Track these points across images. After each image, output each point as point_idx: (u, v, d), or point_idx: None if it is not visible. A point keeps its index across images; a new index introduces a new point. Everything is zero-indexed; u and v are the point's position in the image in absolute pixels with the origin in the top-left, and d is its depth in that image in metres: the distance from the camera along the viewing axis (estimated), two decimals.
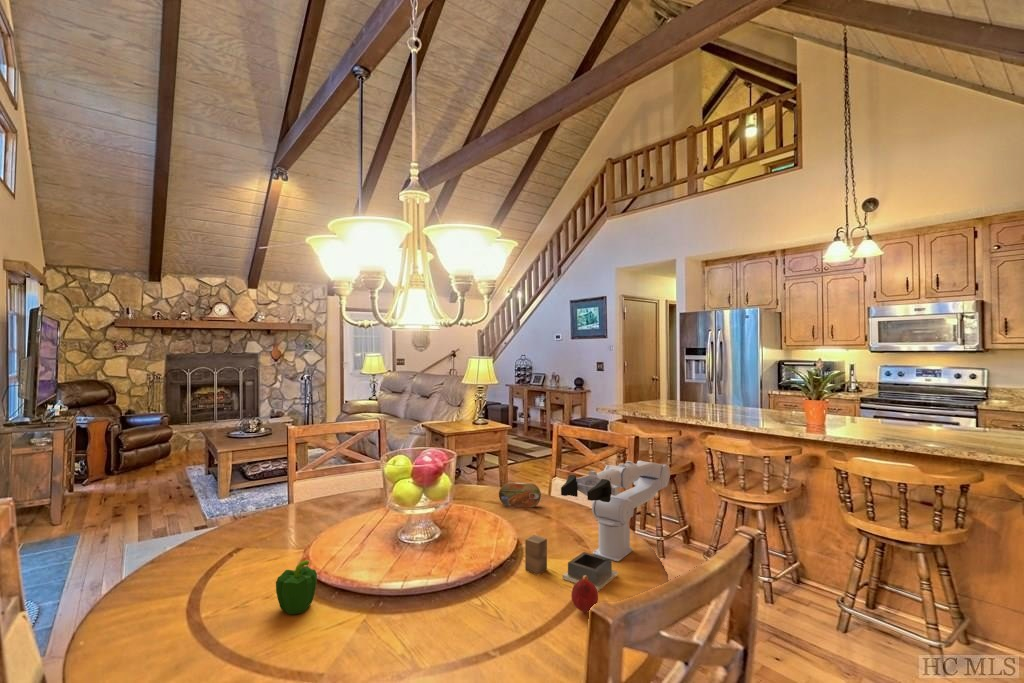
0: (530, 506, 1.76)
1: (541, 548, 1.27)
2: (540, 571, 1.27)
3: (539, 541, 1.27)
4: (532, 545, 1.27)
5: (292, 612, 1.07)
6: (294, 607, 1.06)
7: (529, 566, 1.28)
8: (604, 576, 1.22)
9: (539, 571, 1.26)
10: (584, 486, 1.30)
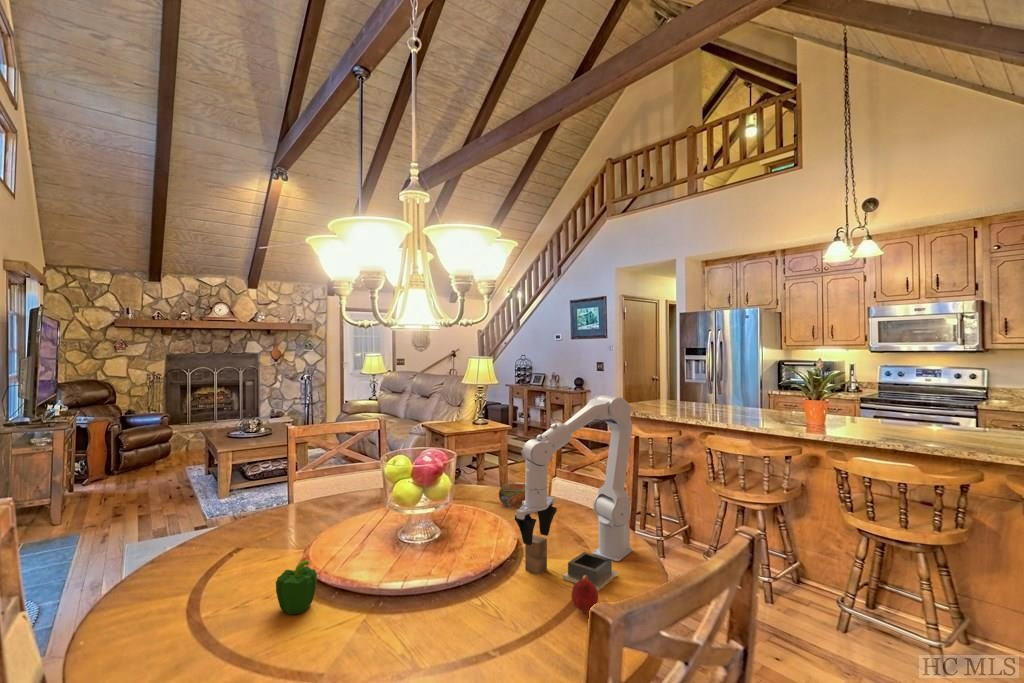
0: None
1: (541, 548, 1.27)
2: (540, 571, 1.27)
3: (539, 541, 1.27)
4: (532, 545, 1.27)
5: (292, 612, 1.07)
6: (294, 607, 1.06)
7: (529, 566, 1.28)
8: (604, 576, 1.22)
9: (539, 571, 1.26)
10: None
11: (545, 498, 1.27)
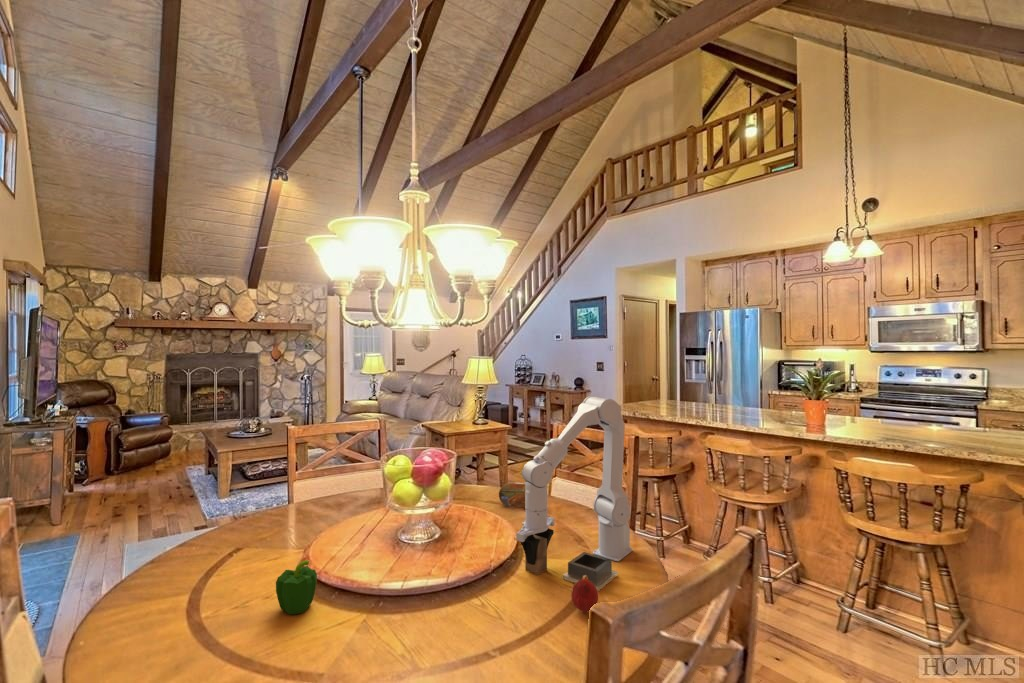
0: None
1: (541, 548, 1.27)
2: (540, 571, 1.27)
3: None
4: None
5: (292, 612, 1.07)
6: (294, 607, 1.06)
7: (529, 566, 1.28)
8: (604, 576, 1.22)
9: (539, 571, 1.26)
10: None
11: (545, 520, 1.27)
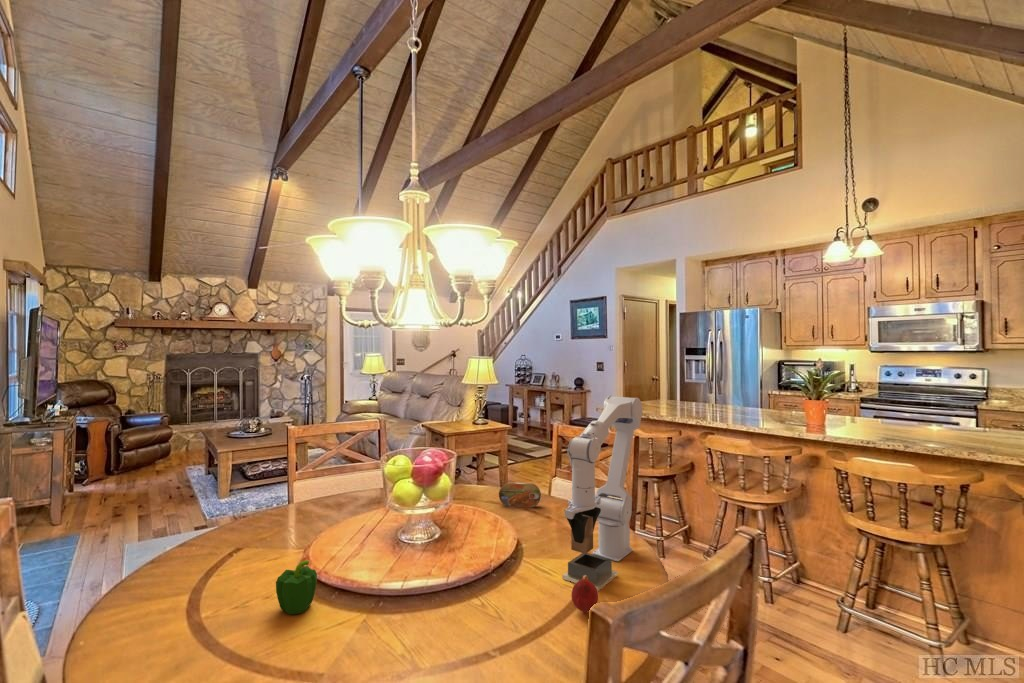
0: (530, 506, 1.76)
1: (588, 526, 1.24)
2: (587, 550, 1.23)
3: None
4: None
5: (292, 612, 1.07)
6: (294, 607, 1.06)
7: (575, 545, 1.24)
8: (604, 576, 1.22)
9: (586, 550, 1.23)
10: None
11: (593, 497, 1.23)
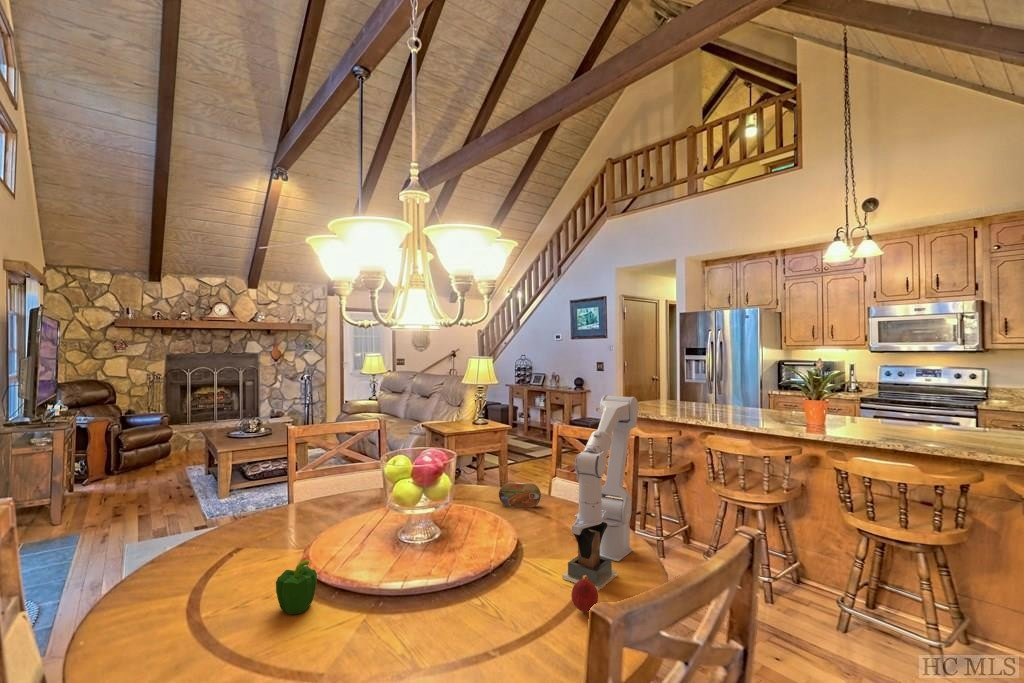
0: (530, 506, 1.76)
1: (595, 542, 1.23)
2: (594, 565, 1.23)
3: None
4: None
5: (292, 612, 1.07)
6: (294, 607, 1.06)
7: (582, 560, 1.24)
8: (604, 576, 1.22)
9: (593, 565, 1.22)
10: None
11: (600, 512, 1.23)
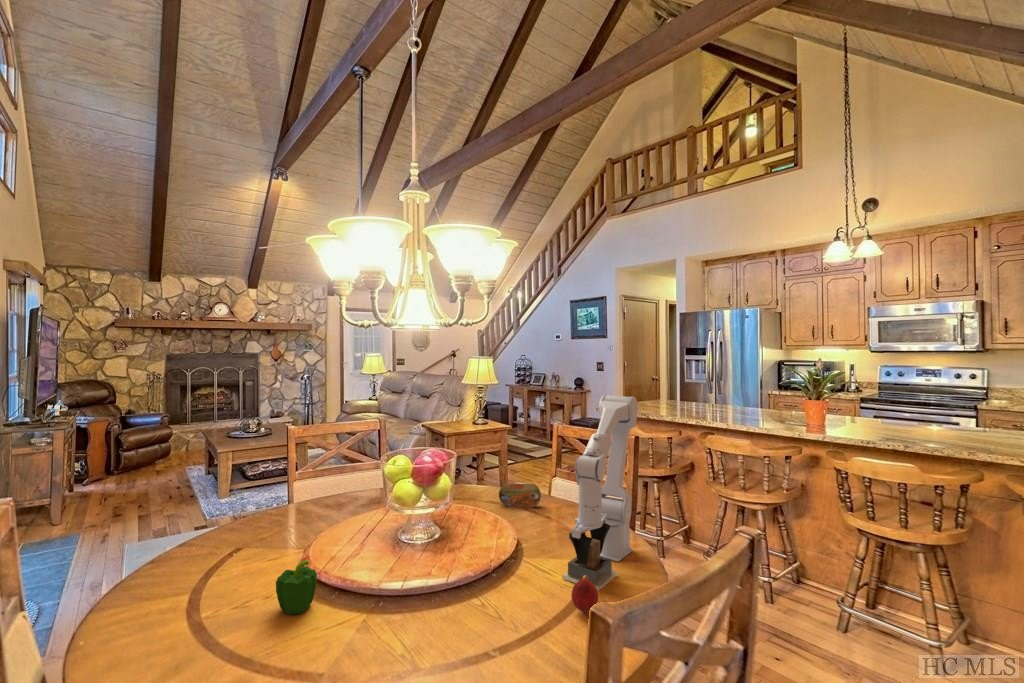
0: (530, 506, 1.76)
1: (595, 551, 1.23)
2: None
3: (593, 543, 1.23)
4: None
5: (292, 612, 1.07)
6: (294, 607, 1.06)
7: None
8: (604, 576, 1.22)
9: None
10: None
11: (600, 515, 1.23)
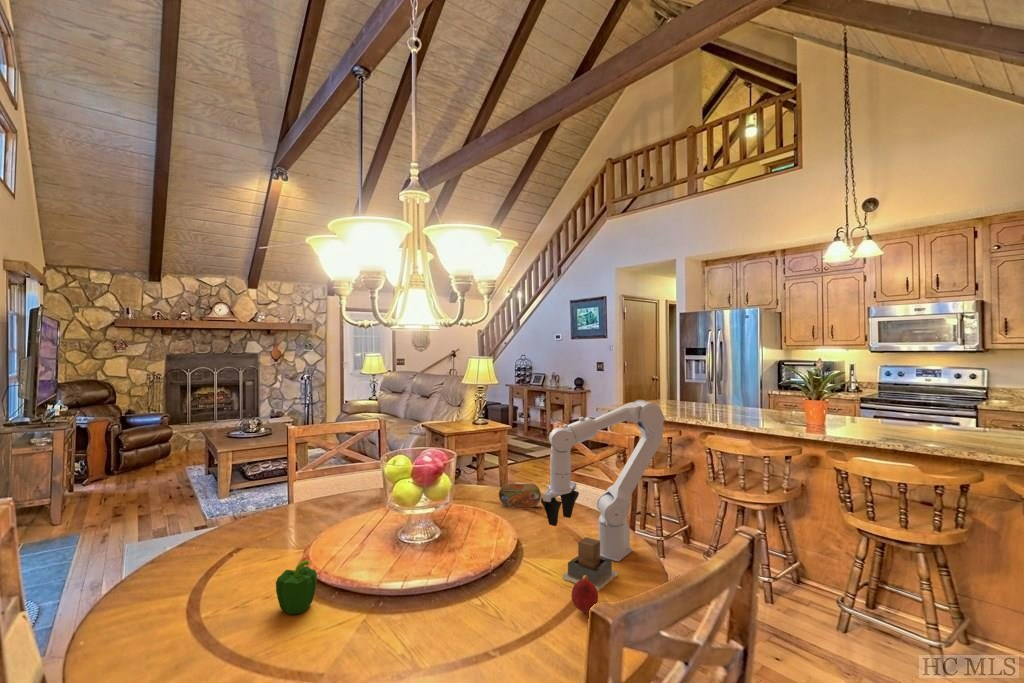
0: (530, 506, 1.76)
1: (595, 551, 1.23)
2: None
3: (593, 543, 1.23)
4: (586, 548, 1.23)
5: (292, 612, 1.07)
6: (294, 607, 1.06)
7: None
8: (604, 576, 1.22)
9: None
10: None
11: (569, 482, 1.36)
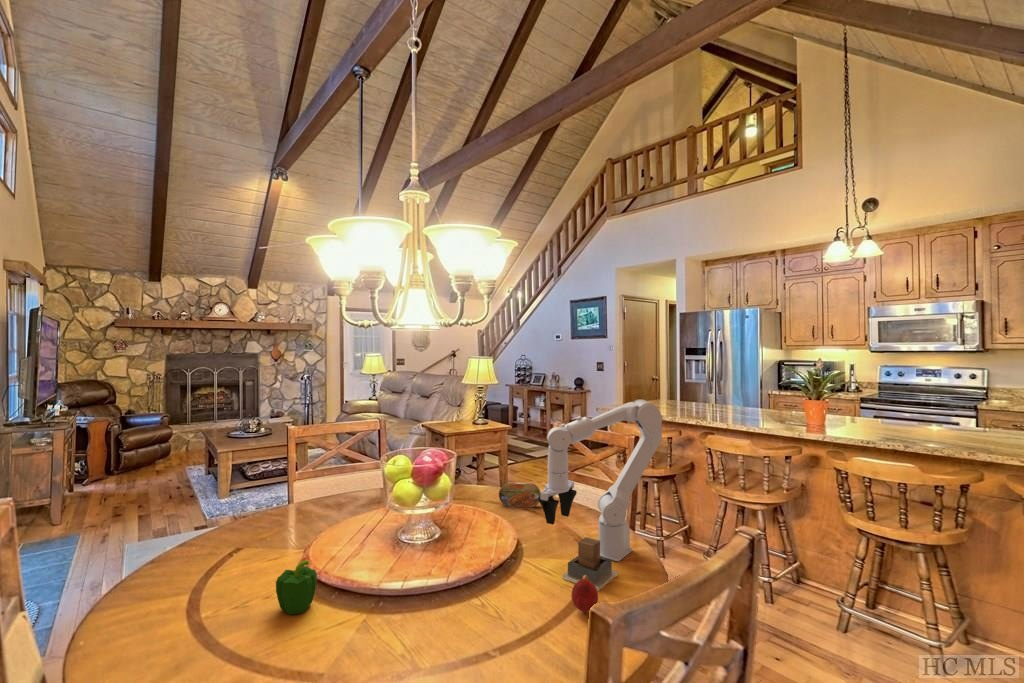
0: (530, 506, 1.76)
1: (595, 551, 1.23)
2: None
3: (593, 543, 1.23)
4: (586, 548, 1.23)
5: (292, 612, 1.07)
6: (294, 607, 1.06)
7: None
8: (604, 576, 1.22)
9: None
10: None
11: (566, 481, 1.37)
